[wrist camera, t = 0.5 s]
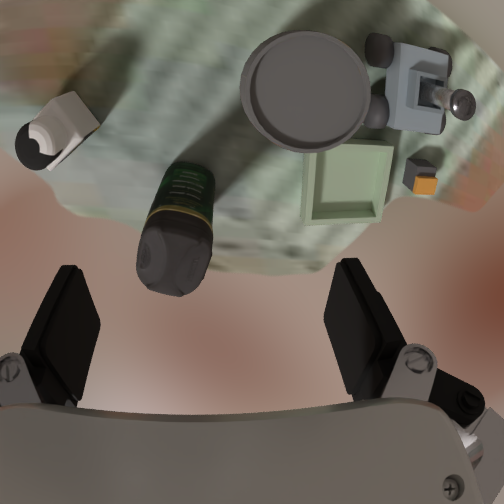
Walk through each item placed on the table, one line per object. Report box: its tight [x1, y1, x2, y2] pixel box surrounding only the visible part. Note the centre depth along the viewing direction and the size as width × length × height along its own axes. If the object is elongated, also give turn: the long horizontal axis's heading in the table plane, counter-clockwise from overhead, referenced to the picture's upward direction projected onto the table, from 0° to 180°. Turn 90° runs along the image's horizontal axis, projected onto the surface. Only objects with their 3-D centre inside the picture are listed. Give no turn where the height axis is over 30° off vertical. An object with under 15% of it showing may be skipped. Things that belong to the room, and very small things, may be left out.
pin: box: [418, 81, 476, 121], centre depth 30 cm, size 4×4×9 cm
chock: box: [402, 159, 438, 195], centre depth 46 cm, size 4×4×4 cm
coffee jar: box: [136, 162, 215, 297], centre depth 39 cm, size 10×8×19 cm
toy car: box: [363, 33, 452, 135], centre depth 35 cm, size 14×12×8 cm
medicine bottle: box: [15, 91, 100, 171], centre depth 33 cm, size 7×7×12 cm
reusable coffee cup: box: [240, 30, 371, 153], centre depth 32 cm, size 13×13×15 cm
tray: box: [300, 139, 394, 226], centre depth 46 cm, size 13×13×3 cm
